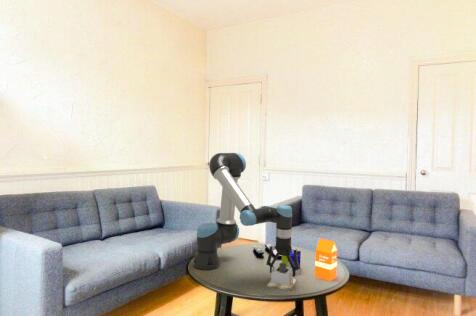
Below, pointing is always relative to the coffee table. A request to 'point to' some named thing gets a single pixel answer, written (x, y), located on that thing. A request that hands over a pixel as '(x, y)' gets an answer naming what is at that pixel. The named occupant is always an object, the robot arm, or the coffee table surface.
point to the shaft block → (282, 269)
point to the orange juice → (326, 260)
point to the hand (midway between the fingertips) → (282, 281)
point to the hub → (281, 276)
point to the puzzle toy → (285, 260)
